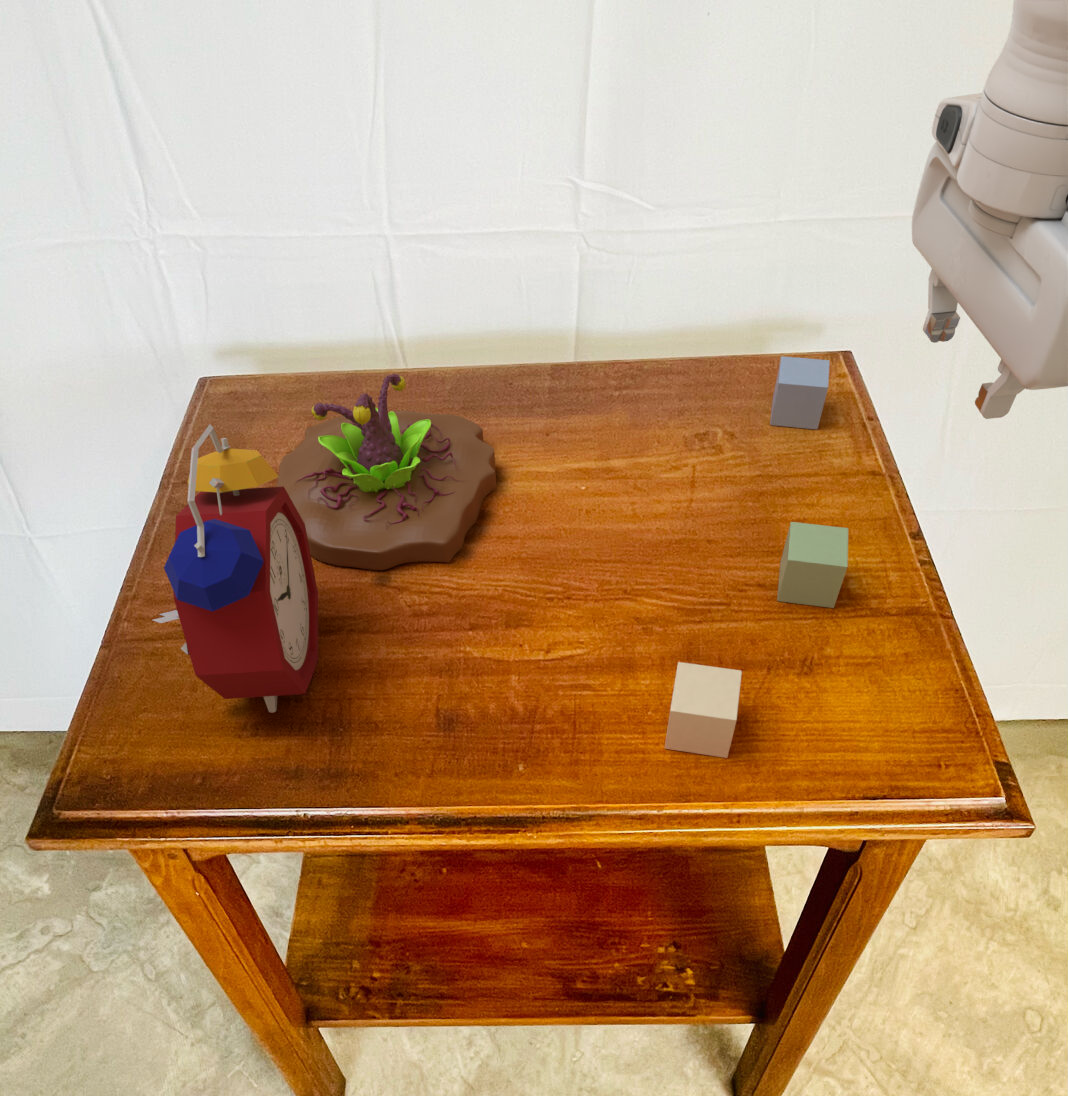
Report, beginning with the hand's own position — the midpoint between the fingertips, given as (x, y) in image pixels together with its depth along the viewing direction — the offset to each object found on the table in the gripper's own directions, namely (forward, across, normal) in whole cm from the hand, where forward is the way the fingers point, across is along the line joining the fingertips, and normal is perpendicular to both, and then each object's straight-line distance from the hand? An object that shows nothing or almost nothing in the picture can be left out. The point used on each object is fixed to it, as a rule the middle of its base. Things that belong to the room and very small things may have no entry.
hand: (961, 373), depth 63 cm
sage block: (+16, -4, +9) cm, 18 cm away
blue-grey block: (+16, +19, +3) cm, 25 cm away
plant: (+16, +13, +43) cm, 48 cm away
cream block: (+16, -17, +21) cm, 31 cm away
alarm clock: (+16, -5, +53) cm, 56 cm away
